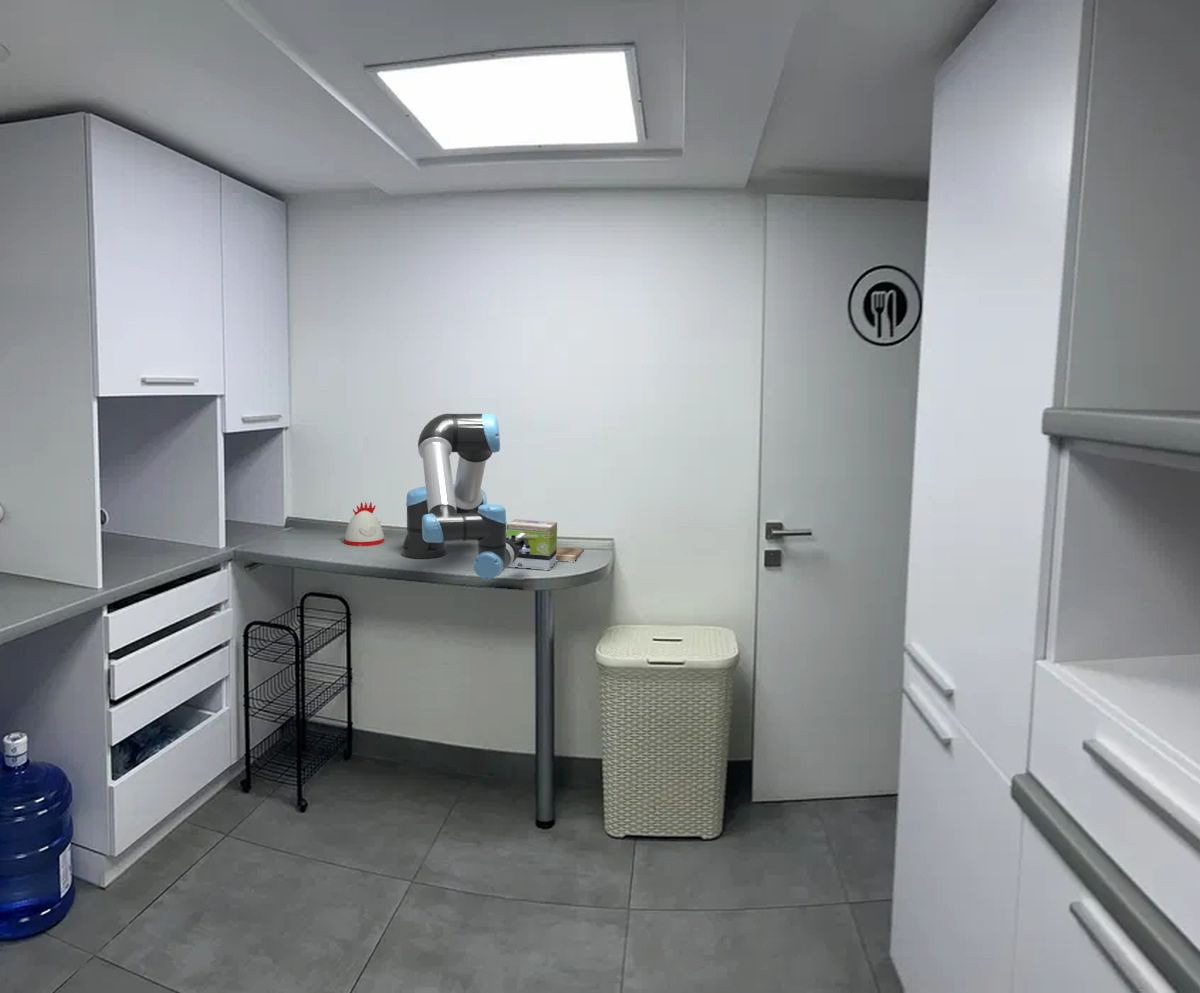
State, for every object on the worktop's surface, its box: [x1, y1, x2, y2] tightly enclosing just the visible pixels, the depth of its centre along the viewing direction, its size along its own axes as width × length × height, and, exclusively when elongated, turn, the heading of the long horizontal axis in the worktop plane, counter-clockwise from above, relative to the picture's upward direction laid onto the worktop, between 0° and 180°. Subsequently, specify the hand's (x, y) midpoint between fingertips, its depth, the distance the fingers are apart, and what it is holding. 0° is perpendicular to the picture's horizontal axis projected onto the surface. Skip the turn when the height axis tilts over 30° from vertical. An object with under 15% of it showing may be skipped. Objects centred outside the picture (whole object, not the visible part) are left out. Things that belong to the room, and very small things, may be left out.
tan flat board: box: [556, 546, 585, 562], centre depth 267 cm, size 26×18×2 cm
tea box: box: [506, 518, 558, 571], centre depth 250 cm, size 15×10×15 cm
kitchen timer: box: [344, 501, 385, 547], centre depth 278 cm, size 14×14×15 cm
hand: (523, 537), depth 238 cm, fingers closed
